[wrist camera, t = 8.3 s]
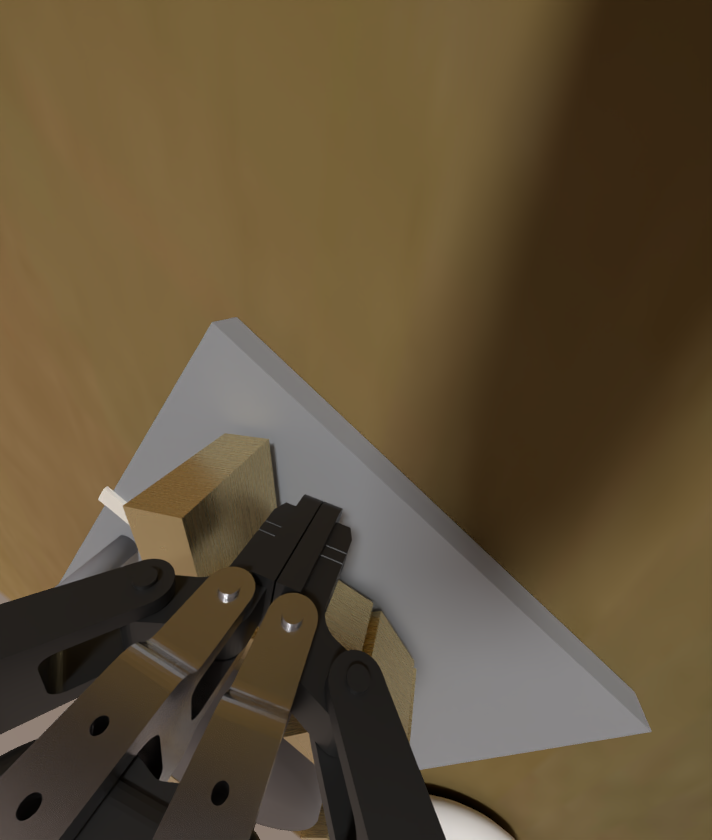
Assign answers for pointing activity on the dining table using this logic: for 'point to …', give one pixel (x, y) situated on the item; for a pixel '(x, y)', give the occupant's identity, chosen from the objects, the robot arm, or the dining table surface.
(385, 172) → the dining table surface
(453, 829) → the flower in vase
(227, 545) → the segmented wooden ring
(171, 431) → the boss plate
